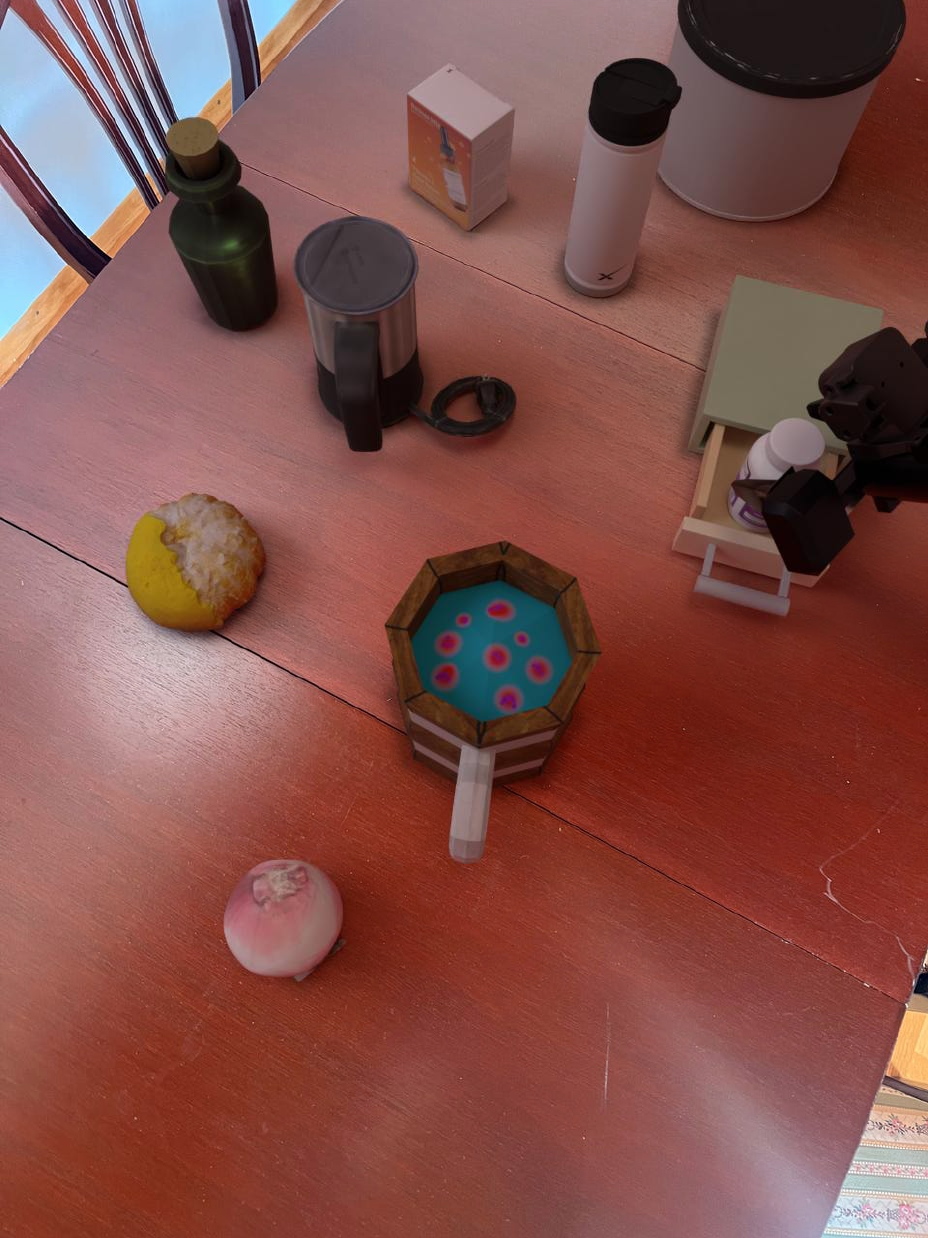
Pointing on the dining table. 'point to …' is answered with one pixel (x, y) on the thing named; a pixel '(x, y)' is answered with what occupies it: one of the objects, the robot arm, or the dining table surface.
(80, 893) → the dining table surface
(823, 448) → the pill bottle
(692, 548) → the drawer
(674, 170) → the container
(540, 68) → the dining table surface
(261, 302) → the potion bottle
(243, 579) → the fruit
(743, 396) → the cabinet
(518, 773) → the mug
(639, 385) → the dining table surface
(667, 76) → the travel mug
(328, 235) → the milk frother
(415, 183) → the small box
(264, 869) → the turnip
